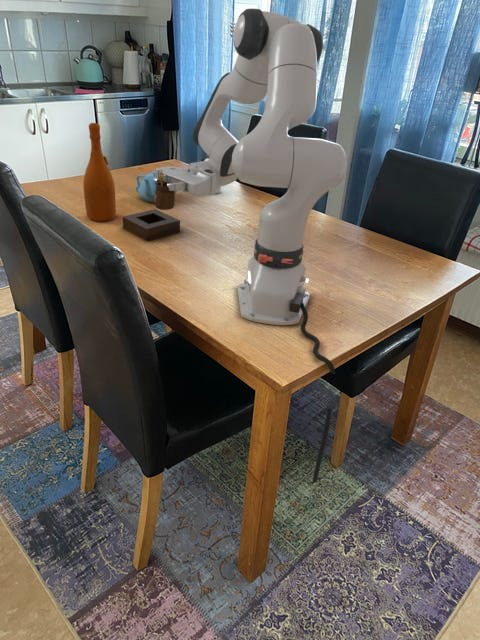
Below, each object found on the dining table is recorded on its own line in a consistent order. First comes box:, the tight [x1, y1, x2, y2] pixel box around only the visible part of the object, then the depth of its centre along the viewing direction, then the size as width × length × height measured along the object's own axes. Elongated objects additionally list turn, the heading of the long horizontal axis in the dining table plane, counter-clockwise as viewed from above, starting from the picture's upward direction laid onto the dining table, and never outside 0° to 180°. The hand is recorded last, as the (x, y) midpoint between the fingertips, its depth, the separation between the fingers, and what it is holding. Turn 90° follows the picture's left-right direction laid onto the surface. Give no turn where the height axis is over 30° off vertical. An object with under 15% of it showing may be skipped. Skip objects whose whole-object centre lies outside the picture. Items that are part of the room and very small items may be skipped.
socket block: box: [122, 208, 181, 242], centre depth 157 cm, size 13×13×4 cm
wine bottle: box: [82, 122, 117, 222], centre depth 157 cm, size 10×10×30 cm
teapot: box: [135, 165, 178, 204], centre depth 183 cm, size 15×15×10 cm
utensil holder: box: [154, 169, 176, 211], centre depth 145 cm, size 6×6×12 cm
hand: (161, 184), depth 144 cm, fingers closed on utensil holder, 5 cm apart
